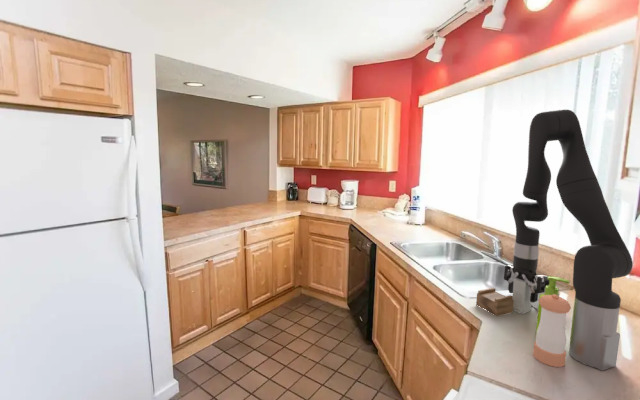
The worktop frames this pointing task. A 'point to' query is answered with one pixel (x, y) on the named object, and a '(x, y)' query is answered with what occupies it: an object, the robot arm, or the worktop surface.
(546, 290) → the soap dispenser
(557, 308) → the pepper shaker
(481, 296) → the display pedestal
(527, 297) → the skincare box
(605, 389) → the worktop surface
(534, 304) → the medicine bottle
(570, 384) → the worktop surface
